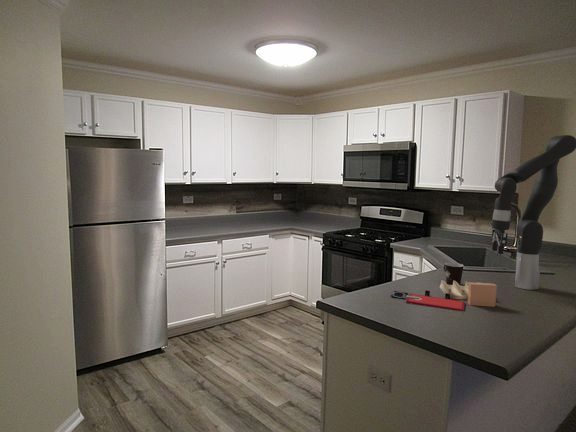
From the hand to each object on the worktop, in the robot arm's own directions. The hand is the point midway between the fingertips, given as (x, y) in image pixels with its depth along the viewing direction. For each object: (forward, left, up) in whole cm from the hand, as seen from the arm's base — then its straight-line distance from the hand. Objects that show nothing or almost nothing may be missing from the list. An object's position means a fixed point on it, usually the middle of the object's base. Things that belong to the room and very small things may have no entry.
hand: (497, 252), depth 191 cm
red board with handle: (+37, +29, -18) cm, 50 cm away
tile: (+15, +30, -18) cm, 38 cm away
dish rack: (+18, +15, -18) cm, 29 cm away
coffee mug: (+19, -3, -18) cm, 26 cm away
